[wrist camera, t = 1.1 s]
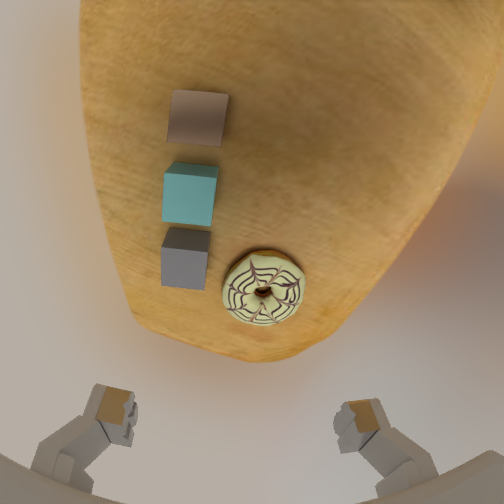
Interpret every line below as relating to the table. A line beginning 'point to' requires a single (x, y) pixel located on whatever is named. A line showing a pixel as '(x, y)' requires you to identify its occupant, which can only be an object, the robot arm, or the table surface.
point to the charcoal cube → (185, 258)
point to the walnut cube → (197, 117)
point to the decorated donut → (260, 275)
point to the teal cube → (189, 193)
